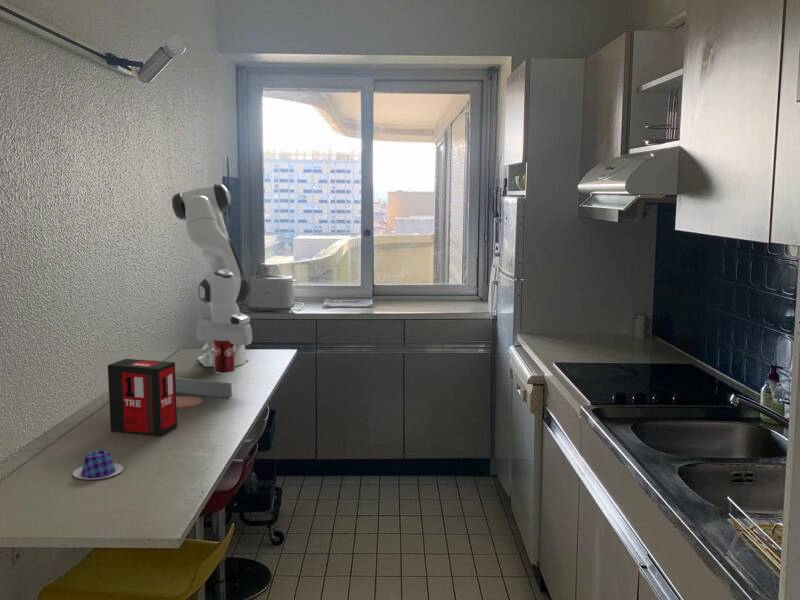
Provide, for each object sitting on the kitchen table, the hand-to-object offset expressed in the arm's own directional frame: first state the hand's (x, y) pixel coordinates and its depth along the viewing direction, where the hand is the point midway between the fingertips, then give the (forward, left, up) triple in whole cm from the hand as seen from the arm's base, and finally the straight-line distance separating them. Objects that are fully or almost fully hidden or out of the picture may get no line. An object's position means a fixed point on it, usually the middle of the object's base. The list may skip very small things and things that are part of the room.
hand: (224, 355), depth 288 cm
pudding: (+61, -62, -12) cm, 88 cm away
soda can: (0, 0, -6) cm, 6 cm away
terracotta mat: (+11, -20, -12) cm, 26 cm away
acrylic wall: (+5, -11, -12) cm, 17 cm away
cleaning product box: (+33, -40, -12) cm, 54 cm away
